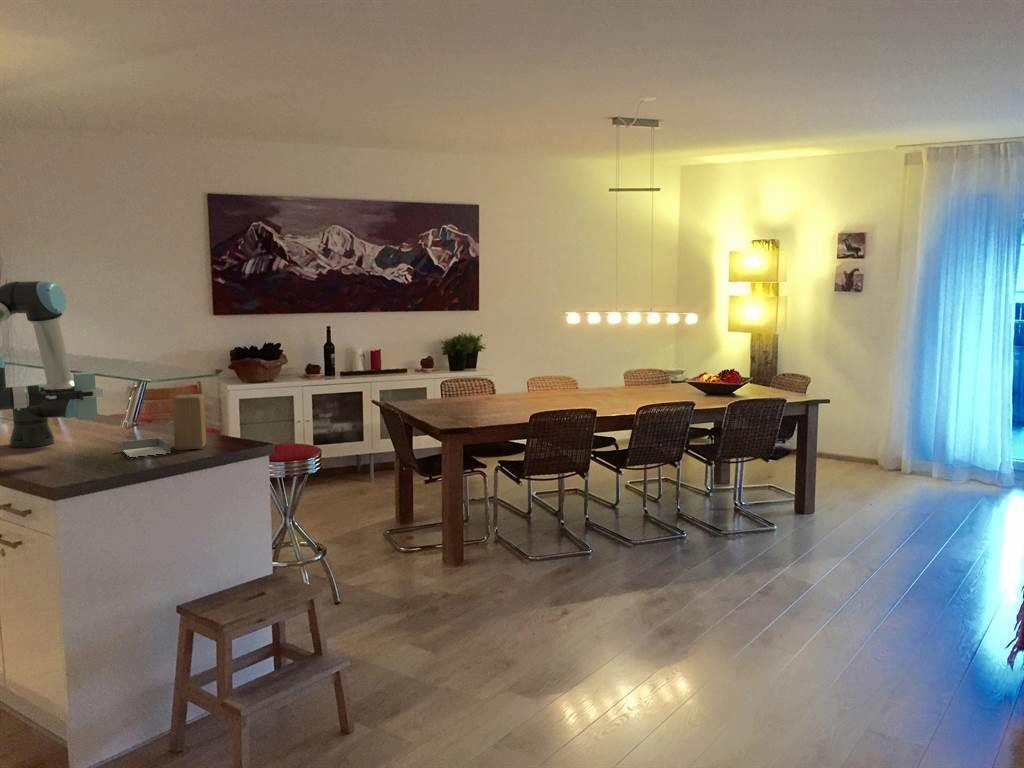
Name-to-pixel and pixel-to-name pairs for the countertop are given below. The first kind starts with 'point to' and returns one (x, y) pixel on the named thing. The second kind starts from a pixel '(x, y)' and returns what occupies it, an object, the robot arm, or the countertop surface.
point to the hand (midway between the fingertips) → (101, 391)
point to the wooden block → (189, 421)
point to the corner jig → (145, 447)
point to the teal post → (87, 405)
